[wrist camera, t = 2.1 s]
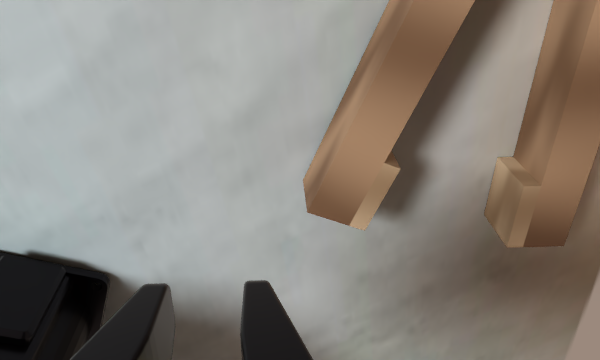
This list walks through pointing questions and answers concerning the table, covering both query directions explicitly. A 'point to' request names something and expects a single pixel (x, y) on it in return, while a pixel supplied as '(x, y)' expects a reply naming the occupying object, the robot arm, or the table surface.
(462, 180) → the table surface
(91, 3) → the table surface
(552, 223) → the tongs fixed
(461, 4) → the tongs arm
